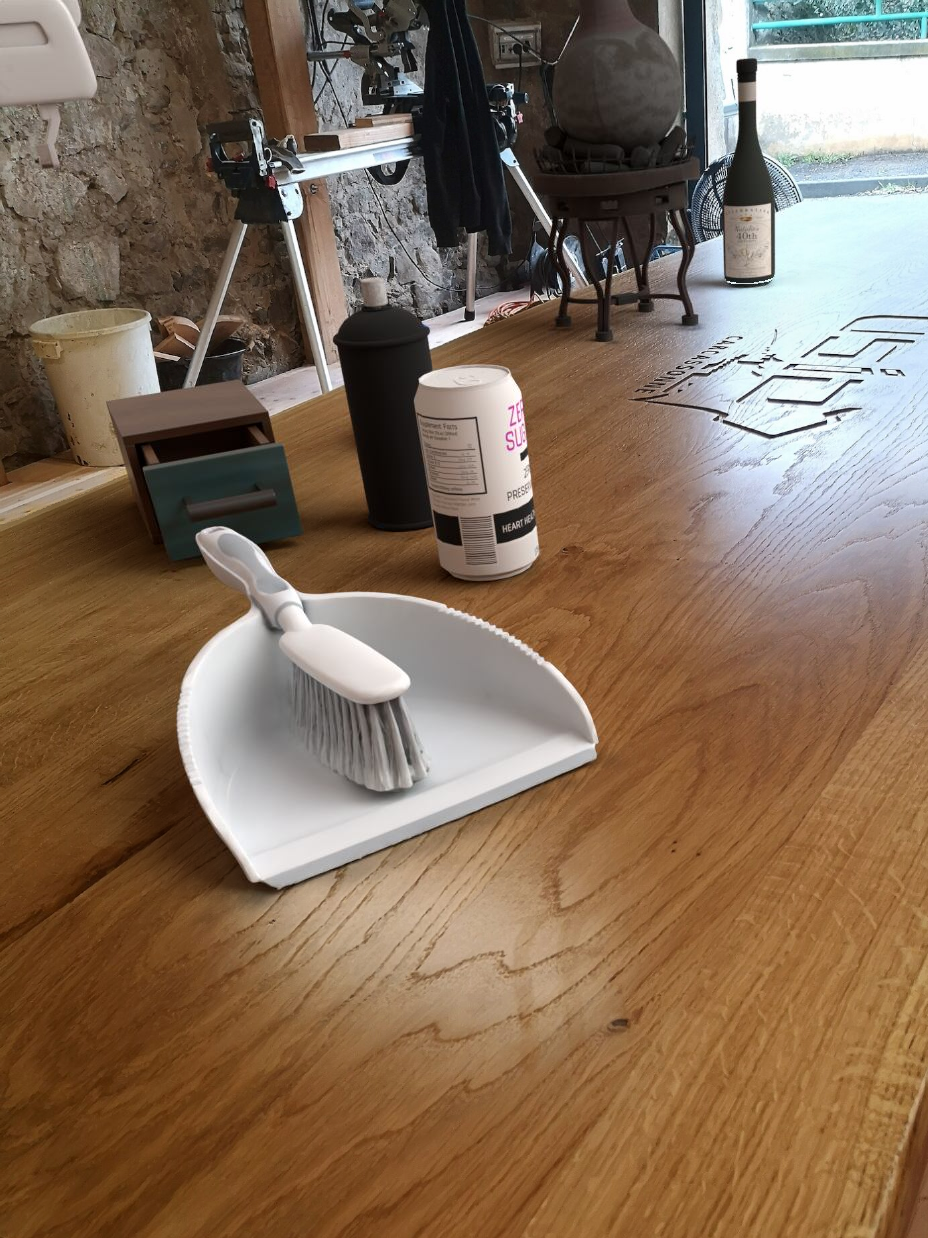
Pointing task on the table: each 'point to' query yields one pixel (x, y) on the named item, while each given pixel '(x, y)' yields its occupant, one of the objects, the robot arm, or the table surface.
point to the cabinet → (179, 427)
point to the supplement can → (477, 471)
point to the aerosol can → (387, 406)
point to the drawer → (219, 487)
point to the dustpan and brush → (359, 719)
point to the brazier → (616, 150)
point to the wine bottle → (748, 195)
